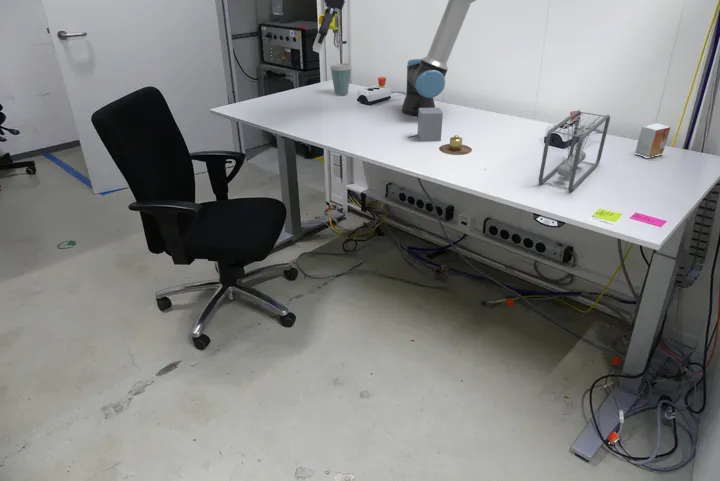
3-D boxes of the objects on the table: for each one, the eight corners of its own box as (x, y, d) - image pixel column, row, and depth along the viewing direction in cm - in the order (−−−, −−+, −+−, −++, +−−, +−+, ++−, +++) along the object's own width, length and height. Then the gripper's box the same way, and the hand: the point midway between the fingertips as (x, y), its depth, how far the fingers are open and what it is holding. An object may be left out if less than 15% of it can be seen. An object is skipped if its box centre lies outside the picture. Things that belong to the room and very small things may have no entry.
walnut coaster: (456, 143, 195) (456, 141, 195) (478, 152, 186) (478, 150, 186) (432, 149, 190) (432, 147, 189) (453, 158, 181) (453, 157, 181)
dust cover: (417, 135, 203) (418, 108, 197) (437, 134, 203) (439, 107, 197) (420, 142, 196) (421, 113, 190) (440, 141, 196) (442, 113, 190)
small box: (647, 159, 178) (656, 130, 173) (633, 154, 182) (641, 126, 177) (662, 155, 181) (671, 126, 176) (648, 150, 186) (656, 122, 180)
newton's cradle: (570, 194, 154) (582, 137, 145) (537, 185, 160) (546, 131, 151) (599, 164, 175) (611, 113, 166) (568, 158, 180) (578, 108, 171)
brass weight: (455, 146, 190) (457, 133, 188) (463, 149, 187) (465, 136, 185) (446, 148, 188) (447, 135, 186) (454, 152, 185) (456, 138, 183)
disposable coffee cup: (329, 96, 259) (327, 66, 252) (333, 91, 268) (332, 61, 261) (349, 97, 258) (348, 66, 250) (353, 91, 267) (352, 62, 259)
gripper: (326, -8, 203) (306, 44, 210) (328, -10, 180) (306, 48, 188) (343, 0, 205) (323, 51, 212) (348, -1, 182) (325, 57, 190)
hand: (315, 50), depth 200 cm, fingers open, 13 cm apart
